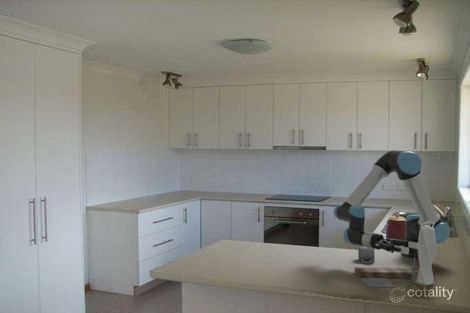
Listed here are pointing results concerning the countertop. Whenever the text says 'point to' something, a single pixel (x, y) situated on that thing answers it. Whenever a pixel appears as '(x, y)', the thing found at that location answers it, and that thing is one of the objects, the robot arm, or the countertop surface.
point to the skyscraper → (425, 256)
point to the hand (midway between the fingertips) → (415, 249)
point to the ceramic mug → (366, 255)
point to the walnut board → (385, 272)
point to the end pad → (377, 282)
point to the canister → (396, 227)
